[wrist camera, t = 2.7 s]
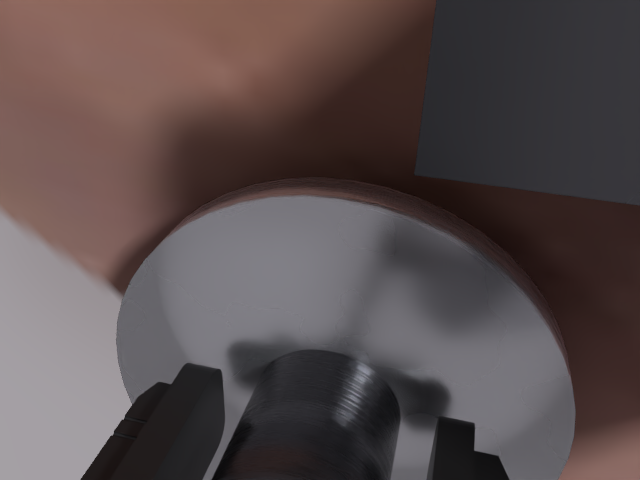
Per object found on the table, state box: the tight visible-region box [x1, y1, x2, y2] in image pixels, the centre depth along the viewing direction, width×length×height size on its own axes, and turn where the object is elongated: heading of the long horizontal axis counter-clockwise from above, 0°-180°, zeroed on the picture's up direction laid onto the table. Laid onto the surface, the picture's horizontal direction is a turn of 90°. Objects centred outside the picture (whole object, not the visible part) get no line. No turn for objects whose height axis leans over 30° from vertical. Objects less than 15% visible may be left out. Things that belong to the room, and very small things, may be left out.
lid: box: [116, 177, 576, 480], centre depth 12 cm, size 10×10×8 cm
